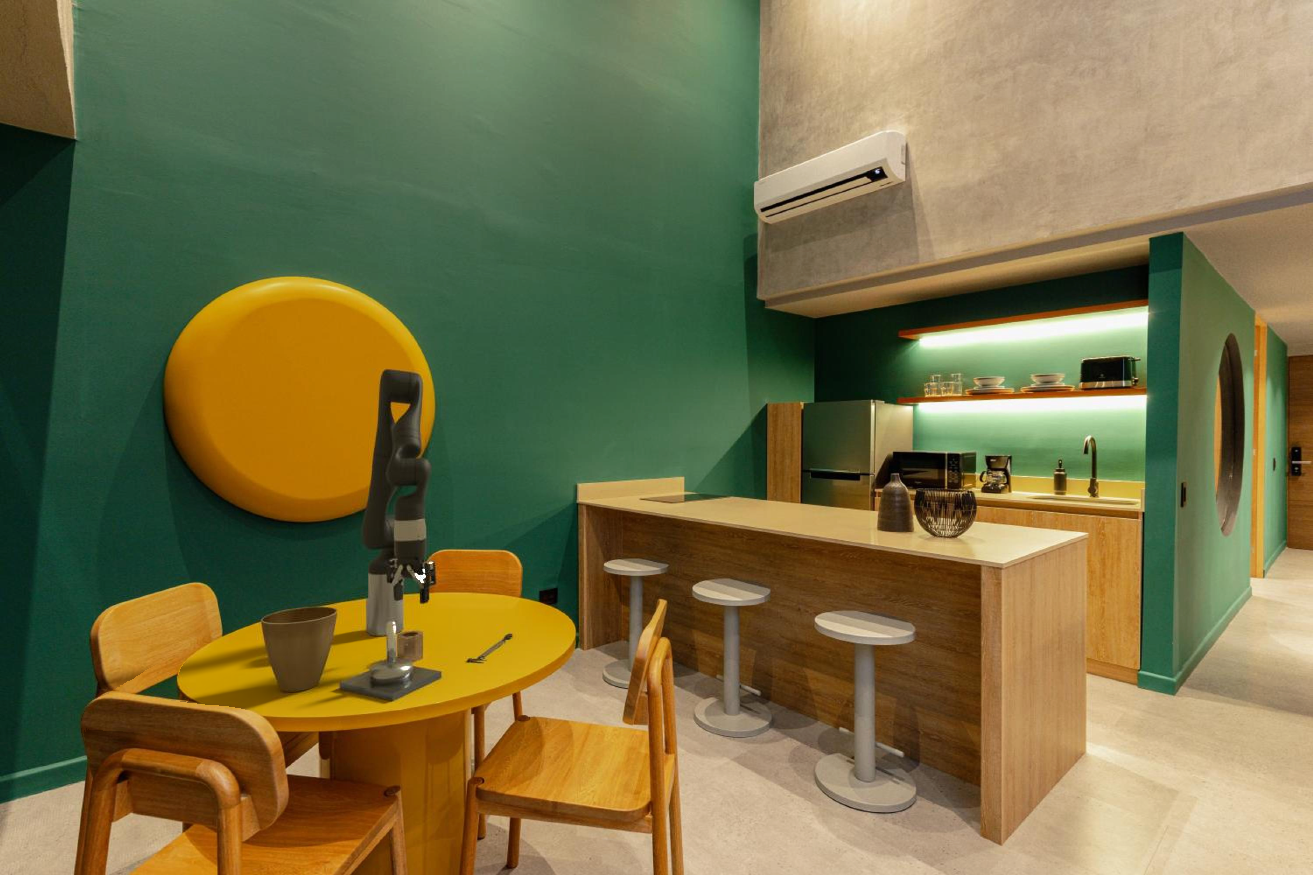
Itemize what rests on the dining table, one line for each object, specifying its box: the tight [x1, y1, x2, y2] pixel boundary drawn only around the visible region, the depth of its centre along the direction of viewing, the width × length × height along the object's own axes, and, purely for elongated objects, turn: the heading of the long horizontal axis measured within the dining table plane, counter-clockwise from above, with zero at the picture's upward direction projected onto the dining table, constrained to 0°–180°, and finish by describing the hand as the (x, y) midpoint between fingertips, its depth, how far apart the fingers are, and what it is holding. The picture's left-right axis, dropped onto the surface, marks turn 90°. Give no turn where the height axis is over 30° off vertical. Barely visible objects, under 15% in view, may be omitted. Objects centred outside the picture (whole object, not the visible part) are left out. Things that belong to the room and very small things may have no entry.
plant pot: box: [260, 606, 338, 693], centre depth 139 cm, size 15×15×16 cm
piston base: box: [338, 621, 443, 702], centre depth 140 cm, size 16×14×14 cm
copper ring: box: [396, 630, 424, 663], centre depth 156 cm, size 6×6×6 cm
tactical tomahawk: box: [466, 632, 514, 664], centre depth 162 cm, size 21×7×1 cm, turn 166°
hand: (411, 601), depth 156 cm, fingers open, 8 cm apart
